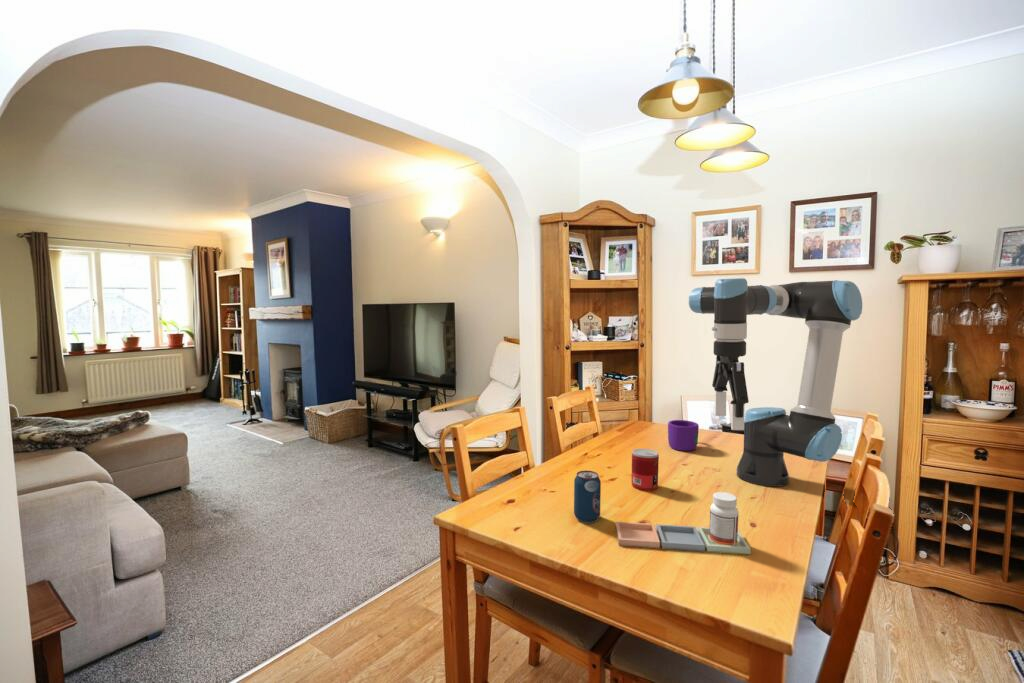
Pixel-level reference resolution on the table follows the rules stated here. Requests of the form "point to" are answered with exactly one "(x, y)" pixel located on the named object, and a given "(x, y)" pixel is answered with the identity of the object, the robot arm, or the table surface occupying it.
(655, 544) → the dish terracotta
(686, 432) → the mug
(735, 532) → the pill bottle
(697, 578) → the table surface
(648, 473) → the canned food
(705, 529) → the dish sage
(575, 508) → the soda can
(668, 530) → the dish slate
